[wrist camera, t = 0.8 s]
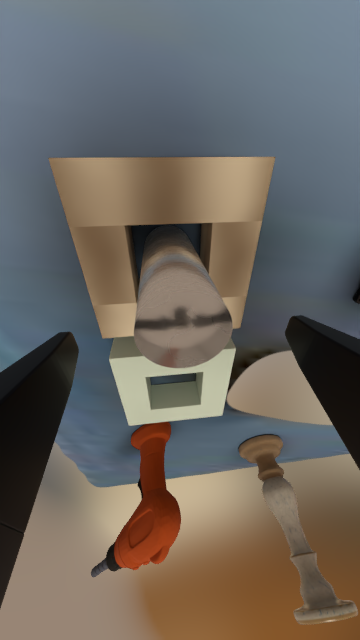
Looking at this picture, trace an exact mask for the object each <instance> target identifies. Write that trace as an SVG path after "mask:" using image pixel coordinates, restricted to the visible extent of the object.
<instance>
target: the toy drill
mask: <svg viewBox="0 0 360 640" xmlns="http://www.w3.org/2000/svg"><path fill="white" fill-rule="evenodd" d="M170 434H171V425H170V423H169V422H158V423H149V424H145V425H143V426H141V427H140V428H139V429H138V430H136V431H135V432H134V433H133V435H132V437H131V444H132V446H133V447H135V448H136V449H138V450H140V455H141V463H140V479H139V482H138V487H139V488H140V490H141V495H142V501H141V502H140V504H139V506H138V507H137V509H136V510H135V512H134V513H133V515H132V516H131V518H130V519H129V521H128V522H127V523H126V525H125V526H124V527H123V529H122V531H121V532H120V534H119V535H118V537H117V539H116V541H115V542H114V544H113V545H112V546H110V548H109V550H108V552H107V555H106V558H105V559H104V560H103V561H102V562H101V563H99V564H98V565H97V566H95V567H94V568H93V569H92V572H91V575H92V577H96V576H97V575H99V574H100V573H101V572H103V571H104V570H106V569H108V568H109V569H110V570H111V571H116V570H118V569H121V568H126V567H127V568H130V569H133V570H137V569H138V568H139V567H140V566H141V565H142V564H143V565H147V564H148V563H149V562H150V561H151V562H153V563H155V564H159V563H161V562H162V561H163V560H164V559H165V558H166V556H167V554H168V552H169V548H170V547H171V546H172V544H173V543H174V541H175V539H176V537H177V535H178V532H179V530H180V524H181V515H180V509H179V505H178V503H177V501H176V499H175V498H174V497H173V496H172V495H171V494H170V493H169V492H168V491H167V490H166V482H165V472H164V452H165V445H166V442H167V441H168V440H169V438H170Z"/></svg>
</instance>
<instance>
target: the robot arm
mask: <svg viewBox="0 0 360 640" xmlns="http://www.w3.org/2000/svg"><path fill="white" fill-rule="evenodd" d="M354 301H355V302H356V303H358V304H360V288H359V290H358V292H357V294H356V296H355V297H354ZM285 336H286V338H287V341H288V343H289V345H290V347H291V350H292V352H293V354H294V356H295V358H296V361H297V363H298V365H299V367H300V369H301V371H302V372H303V374H304V376H305V377H306V379H307V381H308V382H309V384H310V386H311V388H312V389H313V391H314V393H315V394H316V396H317V398H318V400H319V401H320V403H321V405H322V406H323V408H324V410H325V412H326V413H327V415H328V417H329V418H330V420H331V422H332V424H333V425H334V427H335V429H336V430H337V432H338V434H339V436H340V437H341V439H342V441H343V442H344V444H345V446H346V447H347V449H348V451H349V453H350V454H351V456H352V458H353V459H354V461H355V463H356V464H357V466H358V468H359V470H360V339H357V338H355V337H352V336H350V335H348V334H345V333H343V332H341V331H338V330H336V329H333V328H331V327H329V326H326V325H324V324H321V323H319V322H317V321H314V320H312V319H309V318H307V317H305V316H301V315H300V316H292V317H291V318H290V320H289V323H288V325H287V328H286V331H285ZM78 353H79V349H78V346H77V343H76V341H75V338H74V336H73V334H72V333H71V332H60V333H58V334H56V335H55V336H54V337H52V338H51V339H49V340H48V341H46V342H45V343H43V344H42V345H40V346H39V347H37V348H36V349H34V350H33V351H31V352H30V353H28V354H27V355H25V356H24V357H23V358H21V359H20V360H18V361H17V362H15V363H14V364H12V365H11V366H9V367H8V368H6V369H5V370H3V371H2V372H0V608H1V605H2V602H3V599H4V595H5V592H6V589H7V586H8V583H9V580H10V577H11V573H12V571H13V568H14V565H15V562H16V558H17V555H18V552H19V549H20V546H21V543H22V540H23V537H24V532H25V530H26V527H27V524H28V520H29V517H30V514H31V512H32V508H33V505H34V502H35V499H36V496H37V493H38V490H39V487H40V484H41V481H42V478H43V474H44V471H45V468H46V465H47V462H48V459H49V456H50V453H51V450H52V447H53V443H54V441H55V437H56V434H57V431H58V428H59V425H60V422H61V419H62V416H63V413H64V410H65V407H66V404H67V400H68V397H69V394H70V391H71V388H72V383H73V378H74V373H75V368H76V363H77V358H78Z"/></svg>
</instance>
